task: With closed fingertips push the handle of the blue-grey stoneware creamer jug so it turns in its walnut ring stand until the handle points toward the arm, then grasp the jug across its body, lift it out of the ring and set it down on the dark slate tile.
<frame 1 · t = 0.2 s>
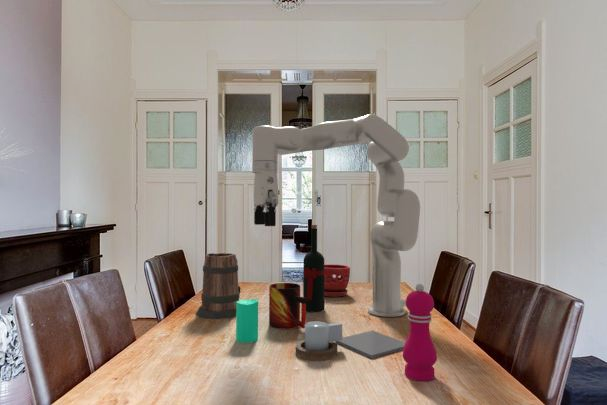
hand: (264, 225, 121), 31 cm above the table, tool pointing down, fingers open, 9 cm apart
wine bottle: (312, 310, 143), on the table
plant pot: (333, 295, 168), on the table
jug: (323, 337, 103), in the stand
candle: (247, 339, 112), on the table
mug: (290, 325, 125), on the table
stand: (316, 352, 102), on the table
pepper mill: (419, 376, 89), on the table
tankard: (224, 310, 143), on the table
tile: (372, 344, 108), on the table
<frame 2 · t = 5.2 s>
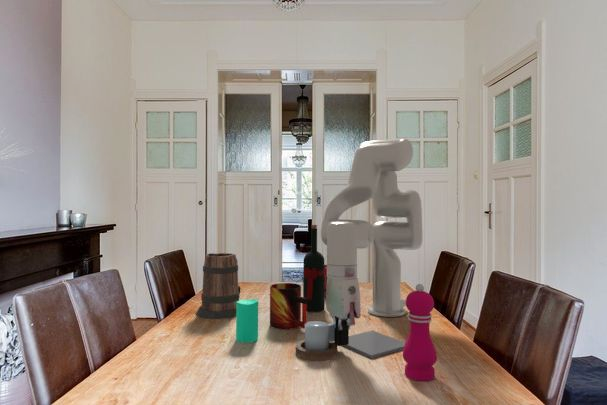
hand: (341, 344, 101), 2 cm above the table, tool pointing down, fingers closed
jug: (323, 337, 103), in the stand, touching gripper
everything else where it was.
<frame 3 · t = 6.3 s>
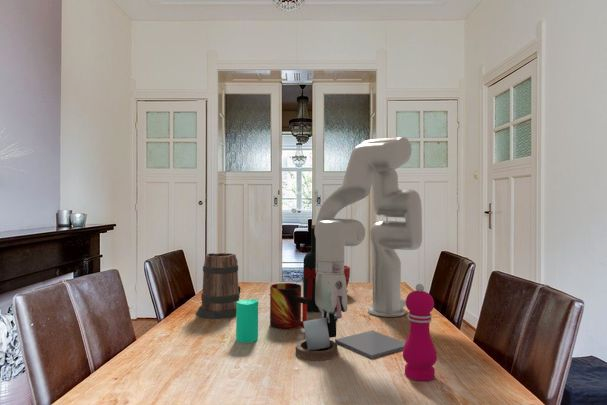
hand: (329, 336, 107), 2 cm above the table, tool pointing down, fingers closed
jug: (318, 333, 105), resting in stand, tilted 18°, touching gripper
everything else where it was.
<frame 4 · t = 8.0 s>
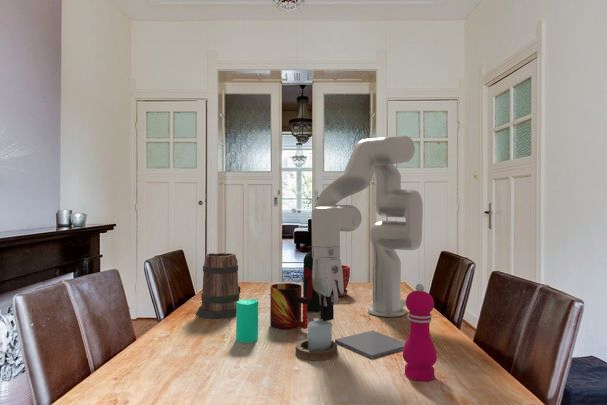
hand: (327, 319, 110), 6 cm above the table, tool pointing down, fingers closed
jug: (318, 335, 105), in the stand
everything else where it was.
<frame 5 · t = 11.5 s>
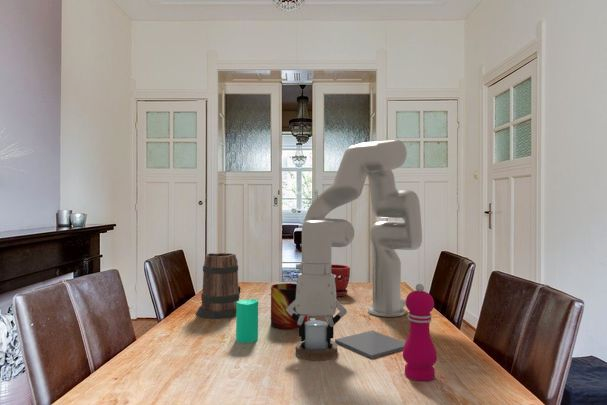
hand: (316, 339, 102), 3 cm above the table, tool pointing down, fingers closed on jug, 6 cm apart
jug: (315, 335, 105), in the stand, touching gripper
everything else where it was.
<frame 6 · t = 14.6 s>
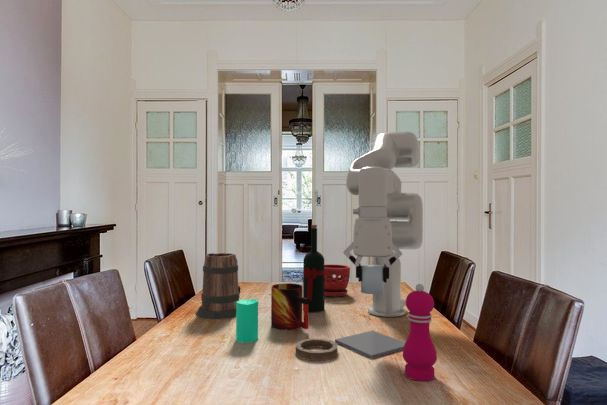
hand: (372, 280, 108), 17 cm above the table, tool pointing down, fingers closed on jug, 6 cm apart
jug: (370, 278, 110), point 17 cm above the table, touching gripper
when the fingers open (4 cm above the table, at t = 17.3 s): jug stays where it is, resting on tile.
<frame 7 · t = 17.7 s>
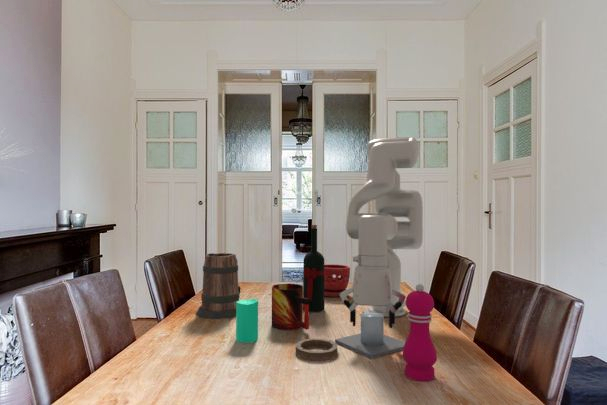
hand: (372, 325, 108), 5 cm above the table, tool pointing down, fingers open, 9 cm apart
jug: (369, 326, 110), on the tile, point 4 cm above the table
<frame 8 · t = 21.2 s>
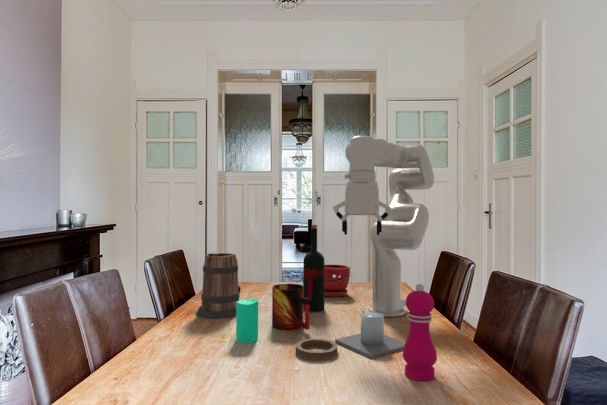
hand: (361, 234, 122), 28 cm above the table, tool pointing down, fingers open, 9 cm apart
at the end: jug inside the target area on the tile (0.0 cm from its centre), point 4.3 cm above the tile's base; jug tilted 0°; the gripper is holding nothing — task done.
